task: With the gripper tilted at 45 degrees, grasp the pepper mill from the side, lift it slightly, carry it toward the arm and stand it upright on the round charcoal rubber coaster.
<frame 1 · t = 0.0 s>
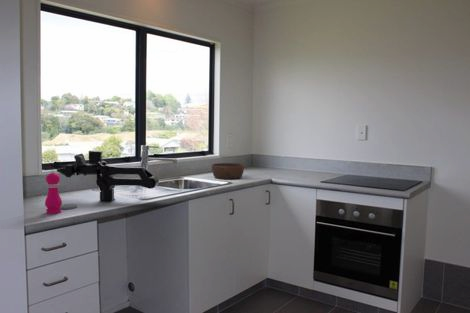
hand: (61, 169, 221), 17 cm above the worktop, tool horizontal, fingers open, 9 cm apart
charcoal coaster: (65, 207, 202), on the worktop
pepper mill: (53, 212, 191), on the worktop
wooden bowl: (227, 178, 316), on the worktop
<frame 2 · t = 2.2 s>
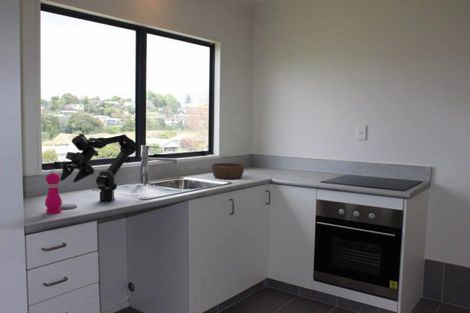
hand: (67, 181, 197), 14 cm above the worktop, tool tilted 45°, fingers open, 9 cm apart
nothing on the worktop moved.
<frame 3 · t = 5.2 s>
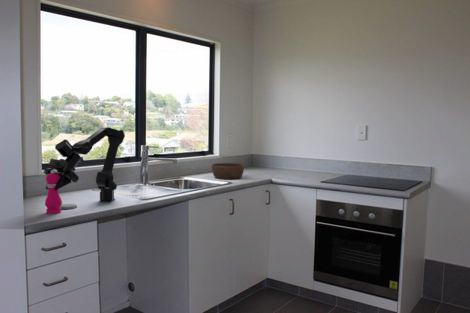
hand: (50, 189, 189), 11 cm above the worktop, tool tilted 45°, fingers closed on pepper mill, 5 cm apart
pepper mill: (53, 212, 191), on the worktop, touching gripper
everything else where it was.
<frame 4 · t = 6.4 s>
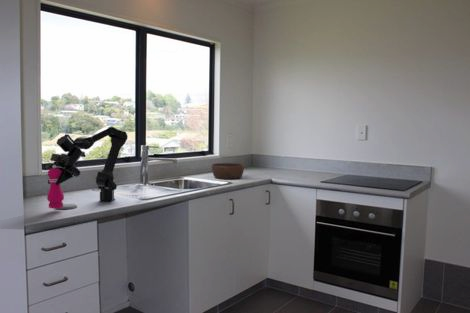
hand: (52, 184, 191), 13 cm above the worktop, tool tilted 45°, fingers closed on pepper mill, 5 cm apart
pepper mill: (56, 207, 193), point 2 cm above the worktop, touching gripper
everything else where it was.
when the fingers open (13 cm above the worktop, at t = 8.1 s): pepper mill stays where it is, resting on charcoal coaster.
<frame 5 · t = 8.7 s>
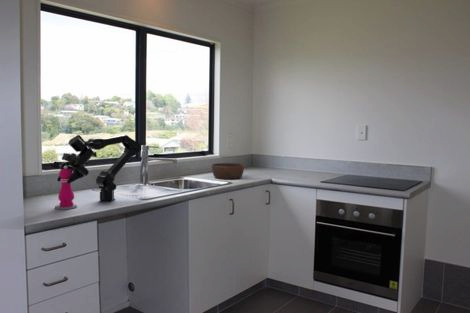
hand: (62, 182, 200), 13 cm above the worktop, tool tilted 45°, fingers open, 9 cm apart
pepper mill: (66, 206, 202), point 1 cm above the worktop, touching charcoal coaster
everything else where it was.
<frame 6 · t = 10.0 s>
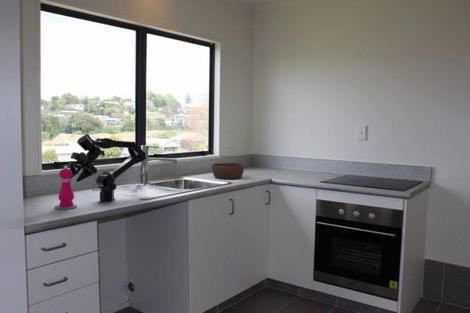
hand: (71, 180, 204), 13 cm above the worktop, tool tilted 45°, fingers open, 9 cm apart
nothing on the worktop moved.
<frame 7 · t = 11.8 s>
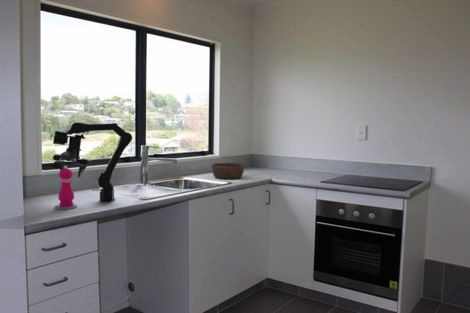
hand: (70, 176, 213), 14 cm above the worktop, tool pointing down, fingers open, 9 cm apart
nothing on the worktop moved.
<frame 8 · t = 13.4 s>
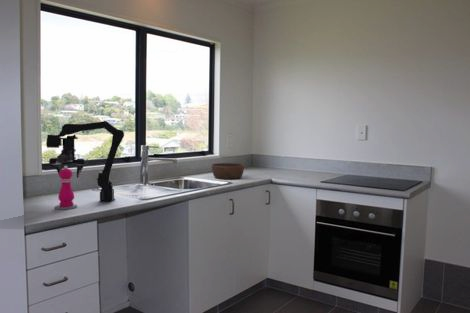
hand: (69, 177, 215), 13 cm above the worktop, tool pointing down, fingers open, 9 cm apart
nothing on the worktop moved.
at the end: pepper mill 0.3 cm off-centre on the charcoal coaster, point 0.6 cm above the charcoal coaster's base; pepper mill tilted 0°; the gripper is holding nothing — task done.
